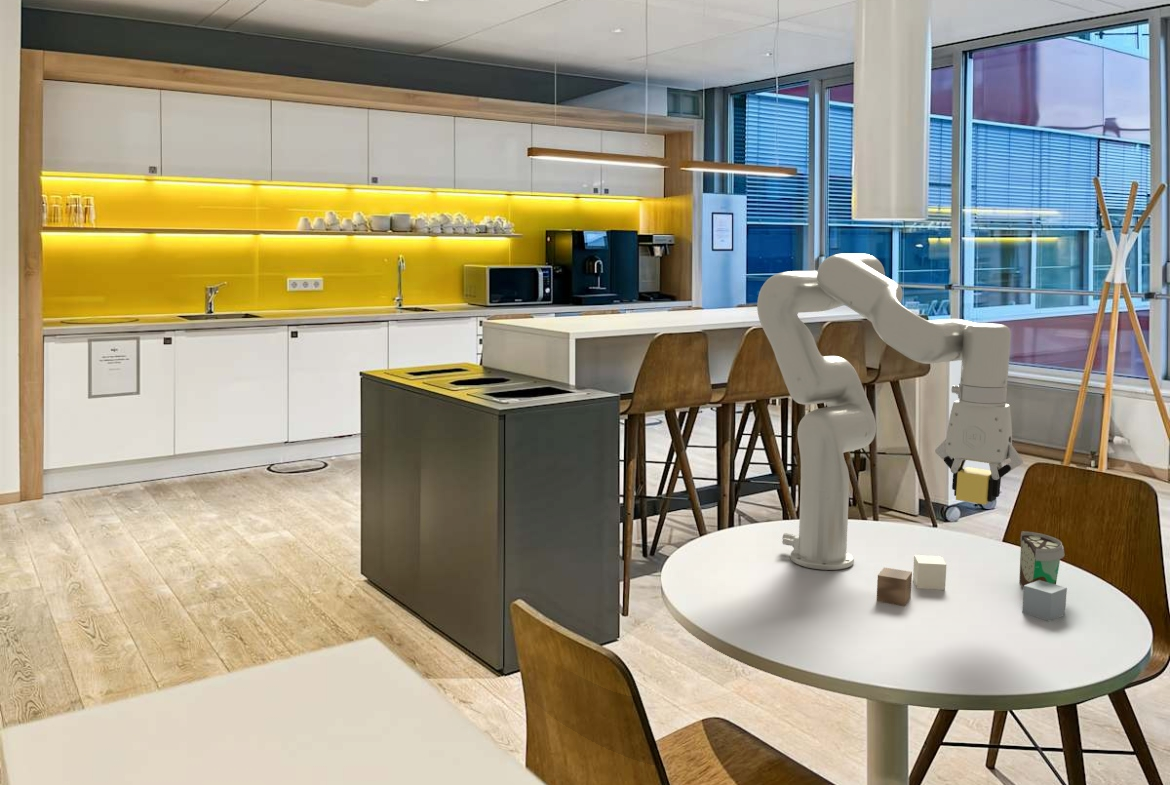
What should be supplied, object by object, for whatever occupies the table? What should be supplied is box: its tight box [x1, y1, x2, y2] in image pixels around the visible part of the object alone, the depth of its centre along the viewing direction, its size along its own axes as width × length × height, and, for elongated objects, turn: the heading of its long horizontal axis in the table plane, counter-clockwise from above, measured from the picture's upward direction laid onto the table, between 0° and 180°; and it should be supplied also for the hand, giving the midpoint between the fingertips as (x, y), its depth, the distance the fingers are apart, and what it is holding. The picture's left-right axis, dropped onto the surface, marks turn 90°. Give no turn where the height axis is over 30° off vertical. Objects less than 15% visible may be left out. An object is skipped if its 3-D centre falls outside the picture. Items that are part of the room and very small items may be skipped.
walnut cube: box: [876, 567, 913, 607], centre depth 179 cm, size 5×5×5 cm
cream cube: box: [912, 554, 947, 591], centre depth 187 cm, size 5×5×5 cm
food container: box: [1018, 531, 1065, 591], centre depth 182 cm, size 12×6×10 cm, turn 168°
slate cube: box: [1021, 580, 1068, 622], centre depth 172 cm, size 5×5×5 cm
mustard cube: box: [955, 466, 991, 506], centre depth 172 cm, size 5×5×5 cm
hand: (975, 496), depth 173 cm, fingers closed on mustard cube, 5 cm apart
